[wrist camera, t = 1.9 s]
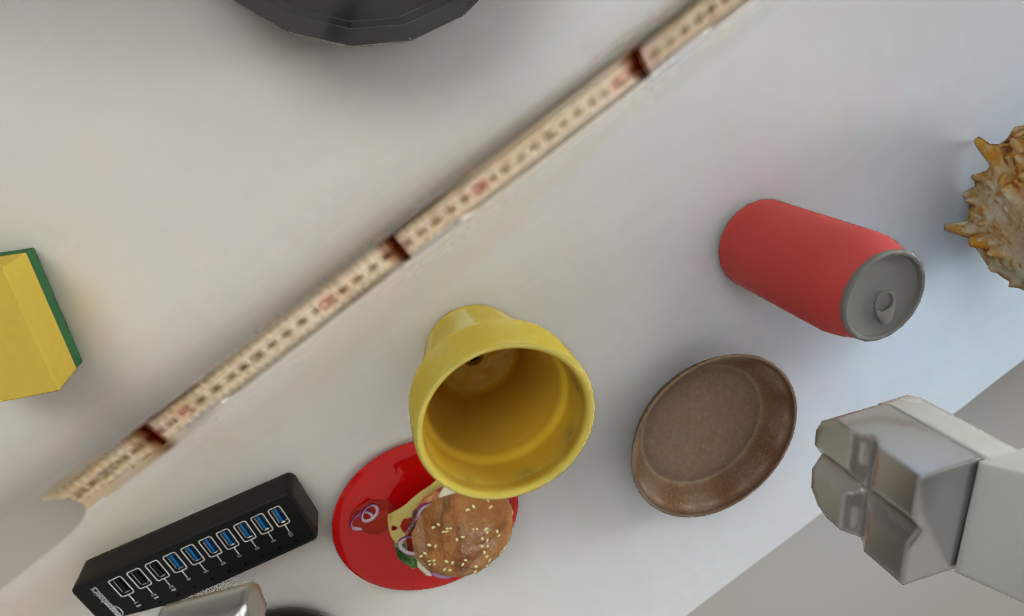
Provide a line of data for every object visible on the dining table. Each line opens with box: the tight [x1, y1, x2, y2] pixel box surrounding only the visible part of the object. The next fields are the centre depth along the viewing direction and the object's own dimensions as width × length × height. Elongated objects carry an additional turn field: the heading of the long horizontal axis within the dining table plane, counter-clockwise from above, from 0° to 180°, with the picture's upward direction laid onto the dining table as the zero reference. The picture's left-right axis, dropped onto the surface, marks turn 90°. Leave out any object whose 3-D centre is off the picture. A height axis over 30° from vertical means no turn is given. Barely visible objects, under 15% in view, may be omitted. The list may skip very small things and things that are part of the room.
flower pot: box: [409, 305, 595, 500], centre depth 38 cm, size 10×10×10 cm
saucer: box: [631, 354, 797, 517], centre depth 49 cm, size 15×15×3 cm
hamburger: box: [332, 442, 518, 590], centre depth 44 cm, size 14×14×6 cm
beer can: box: [719, 199, 925, 341], centre depth 40 cm, size 7×7×12 cm
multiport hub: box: [72, 473, 318, 616], centre depth 41 cm, size 4×14×2 cm, turn 108°
